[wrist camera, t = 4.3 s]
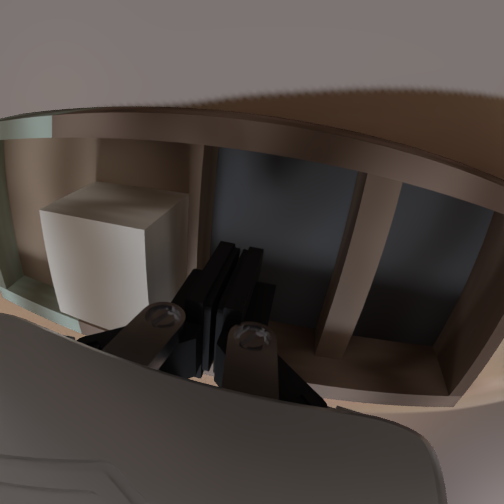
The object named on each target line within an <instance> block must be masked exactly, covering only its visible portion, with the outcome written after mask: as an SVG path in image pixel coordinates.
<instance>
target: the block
mask: <svg viewBox="0 0 504 504" xmlns="http://www.w3.org/2000/svg"><path fill="white" fill-rule="evenodd" d="M188 208H189V194H187V193H180V192H173V191H166V190H159V189H152V188H145V187H137V186H129V185H121V184H113V183H105V182H93V183H91V184H89V185H87V186H85V187H83V188H81V189H79V190H77V191H75V192H73V193H71V194H69V195H67V196H65V197H63V198H61V199H59V200H57V201H55V202H53V203H51V204H49V205H47V206H46V207H44V208H42V209H40V210H39V211H40V219H41V225H42V231H43V237H44V243H45V248H46V253H47V258H48V263H49V268H50V272H51V277H52V281H53V285H54V289H55V293H56V297H57V300H58V304H59V308H60V311H61V312H63V313H66V314H68V315H71V316H73V317H76V318H78V319H81V320H84V321H86V322H89V323H92V324H94V325H97V326H100V327H103V328H105V329H108V330H112V329H116V328H120V327H124V326H126V325H127V324H128V323H129V322H130V321H131V320H133V319H134V318H135V317H136V316H137V315H138V314H139V313H140V312H141V311H142V310H143V309H144V308H145V307H147V306H148V305H150V304H153V303H156V302H170V303H171V301H172V300H173V298H174V297H175V295H176V294H177V292H178V291H179V289H180V288H181V286H182V285H183V283H184V282H185V280H186V275H187V233H188Z"/></svg>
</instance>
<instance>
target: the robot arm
mask: <svg viewBox="0 0 504 504" xmlns="http://www.w3.org/2000/svg"><path fill="white" fill-rule="evenodd" d="M263 253H264V249H261V248H256V247H249V249H248V250H247V249H243V251H242V254H241V256H240V258H239V254H240V248H236V247H235V243H229V242H224V241H221V242H220V243H219V245H218V246H217V248H216V250H215V251H214V253H213V254H212V256H211V257H210V259H209V261H208V262H207V264H206V265H205V267H204V269H203V270H200V269H193V270H192V271H191V273H190V274H189V276H188V277H187V279H186V280H185V282H184V283H183V285H182V286H181V288H180V289H179V291H178V292H177V294H176V295H175V297H174V298H173V300H172V301H171V303H170V302H156V303H153V304H150V305H148V306H147V307H145V308H144V309H143V310H142V311H141V312H140V313H139V314H138V315H137V316H136V317H135V318H134V319H133V320H131V321H130V322H129V323H128V324H127V325H126V326H124V327H120V328H116V329H112V330H108V331H104V332H100V333H96V334H92V335H88V336H85V337H82V338H79V339H78V340H75V337H71V336H65V335H61V334H59V333H56V332H54V331H52V330H49V329H47V328H45V327H42V326H40V325H37V324H35V323H33V322H30V321H28V320H26V319H23V318H20V317H17V316H14V315H9V314H4V313H0V504H447V496H446V488H445V483H444V478H443V473H442V470H441V466H440V463H439V460H438V457H437V454H436V452H435V450H434V448H433V446H432V445H431V444H430V442H429V441H428V440H427V439H426V438H424V437H423V436H422V435H421V434H419V433H417V432H416V431H414V430H412V429H410V428H408V427H406V426H403V425H401V424H399V423H396V422H394V421H390V420H387V419H383V418H380V417H377V416H371V415H367V414H363V413H360V412H356V411H353V410H350V409H346V408H343V407H340V406H337V407H336V408H332V407H329V406H327V404H326V402H325V401H324V400H323V398H322V397H321V396H320V395H319V394H318V393H317V392H315V391H314V390H313V389H312V388H311V387H310V386H309V385H308V384H307V383H306V382H305V381H304V380H303V379H302V378H301V377H300V376H299V375H298V374H297V373H296V372H295V371H294V370H293V369H292V368H291V367H290V366H289V365H288V364H287V363H286V362H285V361H284V360H283V359H282V358H281V357H280V356H279V355H278V354H277V339H276V335H275V333H274V332H273V331H272V330H271V329H270V328H269V327H268V324H269V320H270V315H271V310H272V305H273V300H274V295H275V290H276V285H274V284H268V283H263V282H259V278H260V272H261V265H262V259H263ZM213 360H214V363H213ZM212 363H213V373H214V381H215V382H216V384H217V385H218V386H219V387H217V386H213V385H209V384H205V383H201V382H197V381H194V380H190V379H188V378H191V377H197V378H201V377H202V375H203V372H204V371H209V370H210V368H211V366H212Z"/></svg>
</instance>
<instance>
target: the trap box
mask: <svg viewBox="0 0 504 504" xmlns="http://www.w3.org/2000/svg"><path fill="white" fill-rule="evenodd" d="M93 182H105V183H113V184H121V185H129V186H137V187H145V188H152V189H159V190H166V191H173V192H180V193H187V194H189V208H188V233H187V275H186V279H187V277H188V276H189V274H190V273H191V271H192V270H193V269H200V270H203V269H204V267H205V265H206V264H207V262H208V261H209V259H210V257H211V256H212V254H213V253H214V251H215V250H216V248H217V246H218V245H219V243H220V242H221V241H224V242H229V243H235V247H236V248H240V254H239V258H240V256H241V254H242V251H243V249H247V250H248V249H249V247H256V248H261V249H264V253H263V259H262V265H261V272H260V278H259V282H263V283H268V284H274V285H276V290H275V295H274V300H273V305H272V310H271V315H270V320H269V324H268V327H269V328H270V329H271V330H272V331H273V332H274V333H275V335H276V339H277V354H278V355H279V356H280V357H281V358H282V359H283V360H284V361H285V362H286V363H287V364H288V365H289V366H290V367H291V368H292V369H293V370H294V371H295V372H296V373H297V374H298V375H299V376H300V377H301V378H302V379H303V380H304V381H305V382H306V383H307V384H308V385H309V386H310V387H311V388H312V389H313V390H314V391H315V392H317V393H318V394H319V395H320V396H321V397H322V398H328V399H336V400H344V401H353V402H362V403H373V404H385V405H401V406H423V407H454V406H455V404H456V403H457V402H458V401H459V399H460V398H461V397H462V396H463V395H464V393H465V392H466V391H467V390H468V388H469V387H470V386H471V384H472V383H473V382H474V380H475V379H476V378H477V376H478V375H479V374H480V372H481V371H482V370H483V368H484V367H485V365H486V364H487V362H488V361H489V360H490V358H491V357H492V355H493V354H494V352H495V351H496V349H497V348H498V346H499V345H500V343H501V341H502V340H503V338H504V180H502V179H499V178H497V177H495V176H492V175H490V174H487V173H485V172H482V171H480V170H477V169H475V168H472V167H469V166H467V165H464V164H461V163H458V162H456V161H453V160H450V159H447V158H444V157H441V156H438V155H435V154H432V153H429V152H426V151H423V150H420V149H416V148H413V147H410V146H406V145H403V144H399V143H396V142H392V141H388V140H385V139H381V138H377V137H373V136H369V135H365V134H361V133H356V132H352V131H348V130H343V129H338V128H334V127H329V126H324V125H319V124H313V123H308V122H302V121H296V120H290V119H284V118H278V117H271V116H263V115H256V114H248V113H239V112H229V111H219V110H207V109H193V108H174V107H94V108H77V109H62V110H51V111H41V112H33V113H26V114H19V115H14V116H10V117H5V118H1V119H0V290H1V293H2V296H3V298H5V299H7V300H9V301H11V302H13V303H15V304H17V305H19V306H21V307H23V308H25V309H27V310H29V311H31V312H33V313H35V314H37V315H40V316H42V317H44V318H46V319H48V320H51V321H53V322H55V323H57V324H60V325H62V326H64V327H67V328H69V329H71V330H74V331H76V332H79V333H81V334H84V335H86V336H88V335H92V334H96V333H100V332H104V331H108V329H105V328H103V327H100V326H97V325H94V324H92V323H89V322H86V321H84V320H81V319H78V318H76V317H73V316H71V315H68V314H66V313H63V312H61V311H60V308H59V304H58V300H57V297H56V293H55V289H54V285H53V281H52V277H51V272H50V268H49V263H48V258H47V253H46V248H45V243H44V237H43V231H42V225H41V219H40V211H39V210H40V209H42V208H44V207H46V206H47V205H49V204H51V203H53V202H55V201H57V200H59V199H61V198H63V197H65V196H67V195H69V194H71V193H73V192H75V191H77V190H79V189H81V188H83V187H85V186H87V185H89V184H91V183H93ZM213 363H214V360H213ZM213 363H212V366H211V368H210V370H209V371H204V372H203V374H206V375H210V376H214V373H213Z"/></svg>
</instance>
